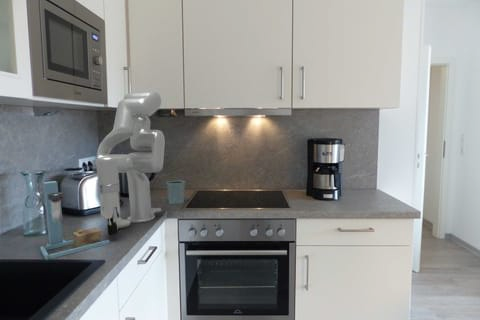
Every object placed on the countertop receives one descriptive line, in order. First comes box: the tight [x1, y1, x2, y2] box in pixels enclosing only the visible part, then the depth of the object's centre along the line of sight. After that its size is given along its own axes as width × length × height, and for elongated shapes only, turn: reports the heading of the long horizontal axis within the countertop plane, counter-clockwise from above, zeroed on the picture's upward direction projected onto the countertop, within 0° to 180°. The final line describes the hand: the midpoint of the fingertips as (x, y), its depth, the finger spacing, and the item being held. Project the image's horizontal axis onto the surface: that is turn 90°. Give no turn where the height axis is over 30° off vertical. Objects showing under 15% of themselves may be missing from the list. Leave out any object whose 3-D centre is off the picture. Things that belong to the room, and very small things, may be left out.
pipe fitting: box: [117, 216, 132, 230], centre depth 138 cm, size 8×4×7 cm
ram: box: [47, 192, 64, 222], centre depth 112 cm, size 5×5×10 cm
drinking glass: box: [166, 179, 186, 205], centre depth 180 cm, size 10×10×12 cm
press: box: [40, 180, 110, 261], centre depth 117 cm, size 21×16×24 cm
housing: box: [72, 227, 103, 248], centre depth 119 cm, size 8×6×6 cm
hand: (112, 234), depth 125 cm, fingers closed
